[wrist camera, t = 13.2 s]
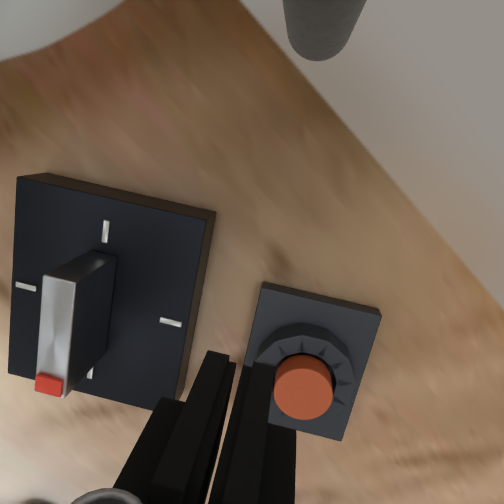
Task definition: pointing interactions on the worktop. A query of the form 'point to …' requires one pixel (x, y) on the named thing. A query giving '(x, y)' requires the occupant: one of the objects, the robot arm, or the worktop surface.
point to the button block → (314, 348)
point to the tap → (73, 321)
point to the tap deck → (125, 282)
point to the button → (303, 387)
